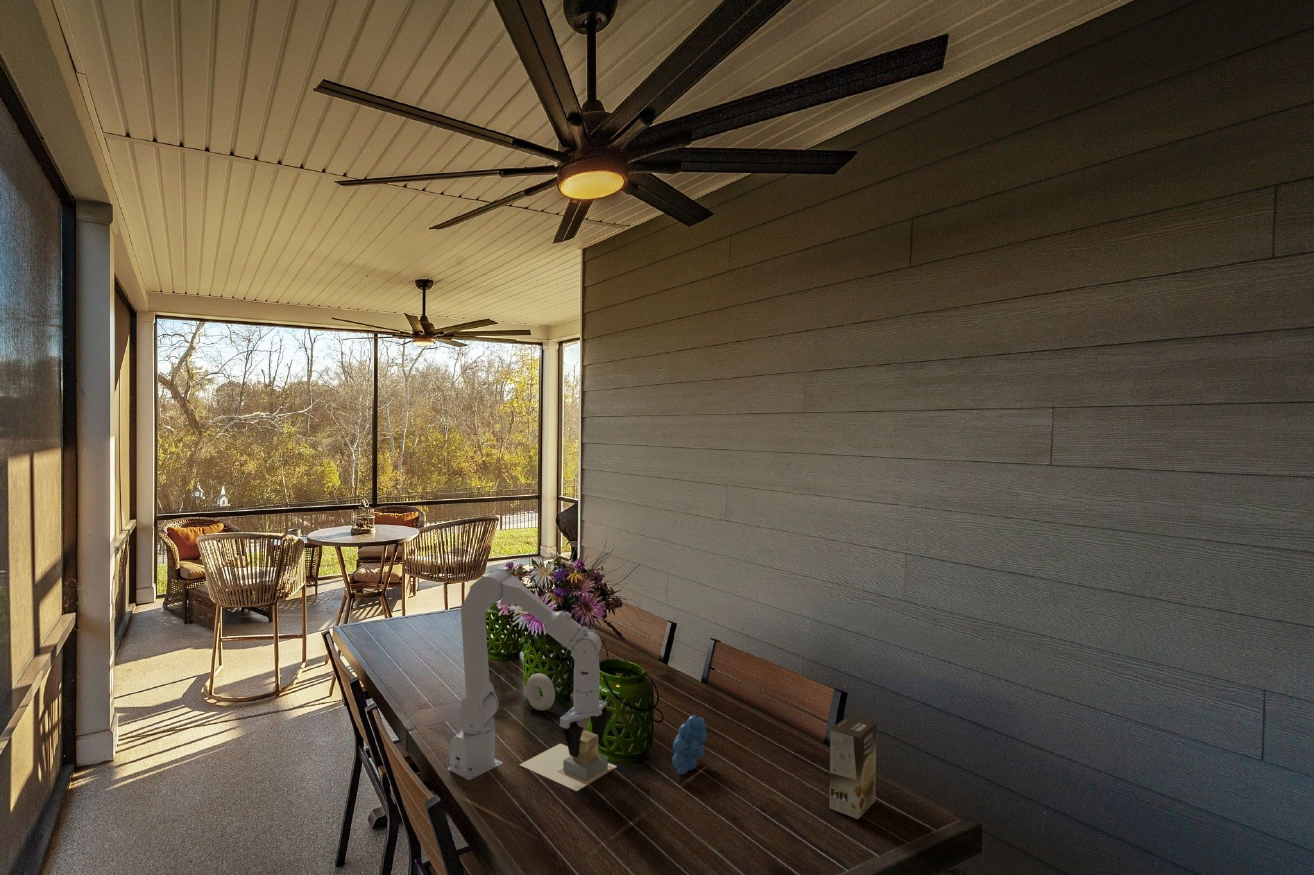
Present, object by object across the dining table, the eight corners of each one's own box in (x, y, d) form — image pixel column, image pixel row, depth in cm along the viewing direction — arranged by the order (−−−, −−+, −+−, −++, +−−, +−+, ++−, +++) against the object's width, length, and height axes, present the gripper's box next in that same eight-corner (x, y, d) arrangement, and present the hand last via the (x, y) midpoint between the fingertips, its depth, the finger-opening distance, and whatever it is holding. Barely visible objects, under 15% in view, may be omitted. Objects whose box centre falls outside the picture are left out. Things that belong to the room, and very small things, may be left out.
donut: (522, 707, 176) (523, 671, 177) (531, 703, 179) (532, 668, 179) (548, 716, 171) (548, 679, 171) (557, 712, 173) (558, 675, 174)
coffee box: (859, 821, 124) (859, 738, 124) (828, 809, 128) (829, 729, 129) (876, 801, 131) (876, 723, 132) (846, 790, 135) (847, 714, 136)
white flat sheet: (576, 794, 133) (576, 790, 133) (519, 767, 144) (519, 764, 144) (617, 769, 143) (617, 765, 143) (560, 746, 154) (560, 743, 154)
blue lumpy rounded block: (689, 755, 150) (690, 704, 150) (713, 764, 146) (713, 711, 146) (658, 774, 141) (659, 720, 141) (682, 785, 137) (683, 729, 137)
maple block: (585, 764, 139) (586, 741, 139) (572, 759, 141) (572, 736, 141) (598, 757, 142) (598, 735, 142) (584, 752, 144) (585, 730, 145)
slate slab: (586, 781, 137) (586, 769, 137) (563, 771, 141) (563, 760, 141) (607, 768, 142) (607, 757, 142) (584, 759, 146) (585, 748, 147)
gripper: (576, 702, 134) (576, 767, 133) (621, 682, 145) (620, 742, 145) (553, 694, 138) (552, 757, 138) (598, 675, 150) (597, 733, 149)
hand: (585, 749), depth 142 cm, fingers open, 7 cm apart
